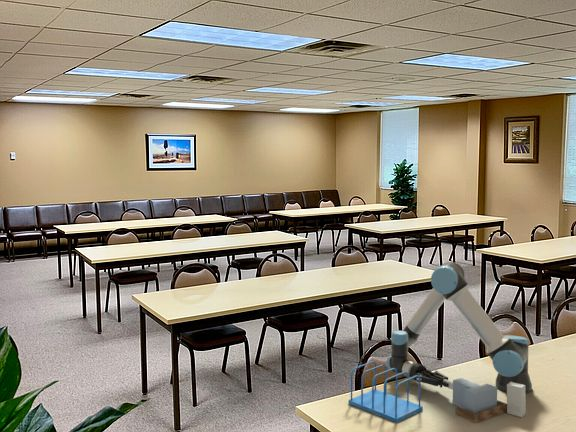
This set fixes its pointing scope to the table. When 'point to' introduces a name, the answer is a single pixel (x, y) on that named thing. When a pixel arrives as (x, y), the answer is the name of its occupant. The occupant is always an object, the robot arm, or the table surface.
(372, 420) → the table surface
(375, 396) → the file sorter
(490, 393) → the grey l-shaped block
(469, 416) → the brown wooden tray
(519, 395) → the skincare box
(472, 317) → the robot arm
